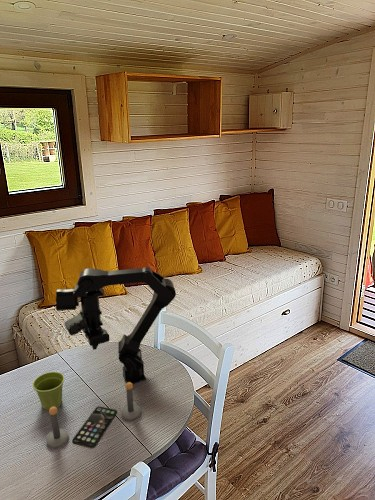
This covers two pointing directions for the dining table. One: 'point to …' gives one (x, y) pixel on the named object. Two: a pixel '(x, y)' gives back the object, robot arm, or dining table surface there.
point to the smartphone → (94, 427)
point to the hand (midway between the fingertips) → (94, 348)
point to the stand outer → (56, 432)
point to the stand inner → (130, 405)
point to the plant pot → (49, 389)
